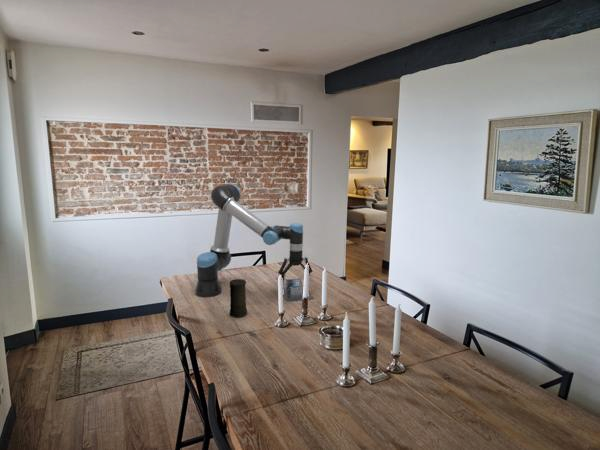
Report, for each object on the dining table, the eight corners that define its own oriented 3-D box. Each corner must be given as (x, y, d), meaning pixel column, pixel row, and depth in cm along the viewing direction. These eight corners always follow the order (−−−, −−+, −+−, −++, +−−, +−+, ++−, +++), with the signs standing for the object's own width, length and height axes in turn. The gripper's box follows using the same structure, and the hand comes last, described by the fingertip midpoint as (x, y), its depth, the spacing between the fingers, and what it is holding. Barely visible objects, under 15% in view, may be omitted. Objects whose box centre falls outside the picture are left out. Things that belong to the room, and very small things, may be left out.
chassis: (279, 289, 241) (279, 277, 240) (304, 287, 245) (304, 275, 244) (287, 301, 222) (286, 289, 221) (313, 298, 227) (314, 286, 225)
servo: (290, 291, 237) (290, 277, 236) (297, 290, 239) (297, 276, 237) (294, 296, 229) (294, 281, 227) (301, 295, 230) (301, 281, 228)
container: (248, 311, 209) (248, 278, 205) (244, 318, 200) (244, 284, 197) (232, 310, 210) (231, 278, 206) (227, 317, 201) (226, 284, 198)
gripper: (276, 252, 222) (276, 288, 226) (318, 250, 229) (317, 285, 233) (273, 249, 229) (273, 284, 233) (314, 247, 236) (313, 281, 240)
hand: (295, 284), depth 233 cm, fingers open, 13 cm apart
